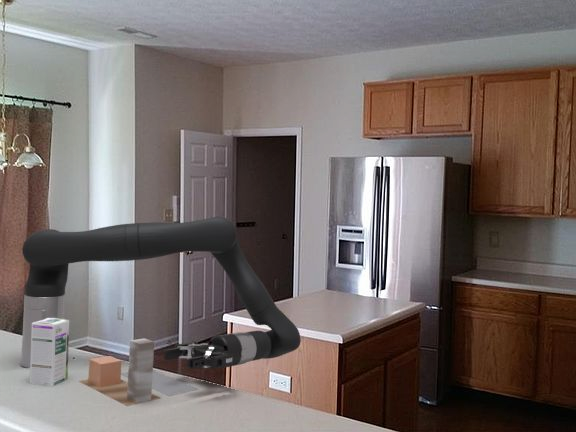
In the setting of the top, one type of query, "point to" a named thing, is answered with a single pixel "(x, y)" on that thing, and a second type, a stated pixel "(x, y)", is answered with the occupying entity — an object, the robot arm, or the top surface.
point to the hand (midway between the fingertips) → (176, 359)
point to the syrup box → (49, 351)
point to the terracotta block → (104, 371)
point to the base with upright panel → (133, 376)
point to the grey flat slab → (167, 384)
